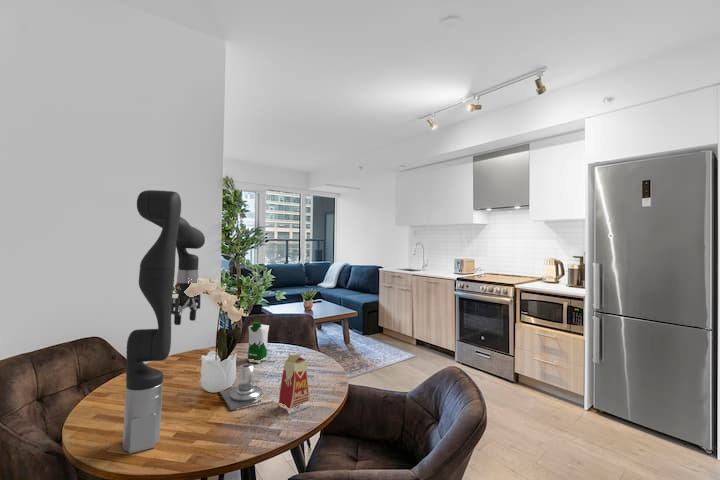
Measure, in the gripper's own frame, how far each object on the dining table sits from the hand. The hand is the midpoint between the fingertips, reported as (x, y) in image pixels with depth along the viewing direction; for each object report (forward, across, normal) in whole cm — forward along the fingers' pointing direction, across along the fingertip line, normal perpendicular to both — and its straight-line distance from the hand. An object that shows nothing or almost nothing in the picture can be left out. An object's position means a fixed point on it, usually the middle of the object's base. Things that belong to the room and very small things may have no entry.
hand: (185, 322), depth 133 cm
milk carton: (+28, +3, -45) cm, 53 cm away
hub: (+26, +5, -24) cm, 36 cm away
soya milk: (+28, +45, -9) cm, 54 cm away
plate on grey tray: (+28, +5, -25) cm, 38 cm away
